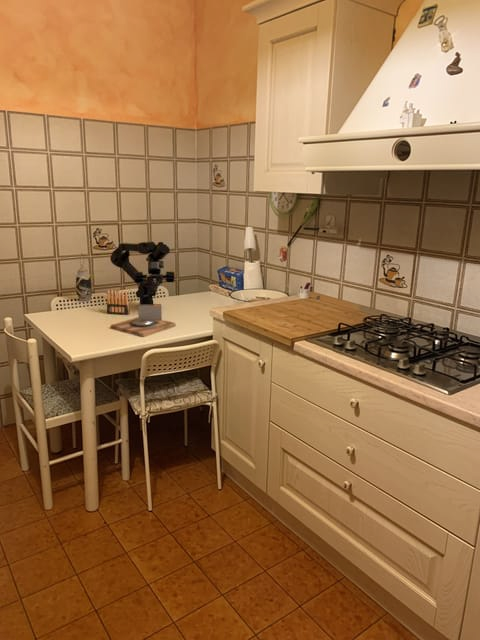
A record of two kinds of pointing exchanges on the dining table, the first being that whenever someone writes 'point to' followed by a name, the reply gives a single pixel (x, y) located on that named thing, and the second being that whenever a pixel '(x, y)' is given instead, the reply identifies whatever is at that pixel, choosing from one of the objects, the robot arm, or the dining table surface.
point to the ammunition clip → (117, 303)
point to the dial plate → (142, 327)
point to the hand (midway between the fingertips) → (155, 292)
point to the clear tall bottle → (83, 284)
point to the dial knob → (148, 315)
